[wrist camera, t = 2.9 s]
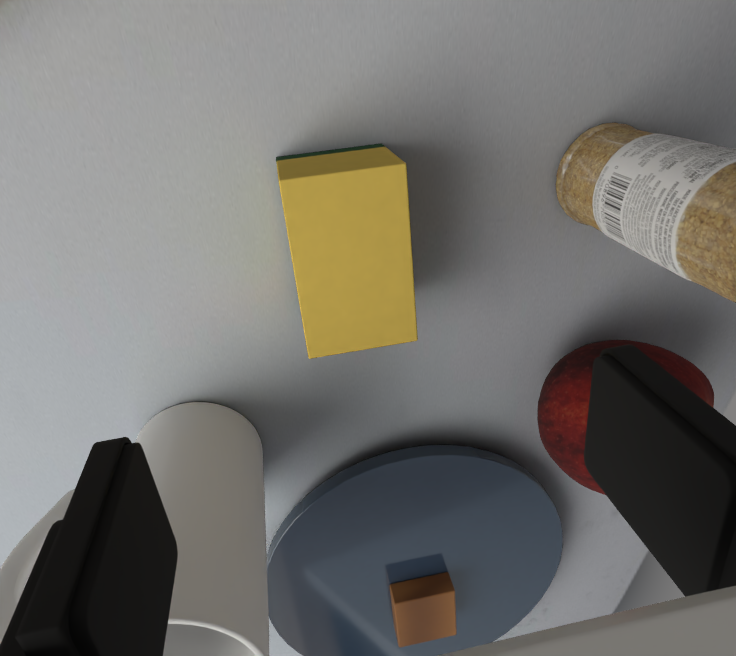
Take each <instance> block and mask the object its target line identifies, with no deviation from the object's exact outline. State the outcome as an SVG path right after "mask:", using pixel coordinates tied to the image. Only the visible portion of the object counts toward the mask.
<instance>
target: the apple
mask: <svg viewBox="0 0 736 656" xmlns="http://www.w3.org/2000/svg"><path fill="white" fill-rule="evenodd" d="M628 344H631V345H634V346H635V347H637V348H638V349H639V350H641V351H642V352H643V353H644V354H646V355H647V356H648V357H649V358H651V359H652V360H653V361H655V362H656V363H657V364H658V365H660V366H661V367H662V368H663V369H665V370H666V371H667V372H668V373H670V374H671V375H672V376H674V377H675V378H676V379H677V380H679V381H680V382H681V383H682V384H684V385H685V386H686V387H687V388H689V389H690V390H691V391H692V392H694V393H695V394H696V395H698V396H699V397H700V398H701V399H703V400H704V401H705V402H706V403H708V404H709V405H710V406H711V407H713V405H714V392H713V389H712V386H711V384H710V382H709V380H708V379H707V377H706V376H705V375H704V373H703V372H702V371H700V370H699V369H698V368H697V367H696V366H695V365H694V364H692V363H691V362H689V361H688V360H686V359H685V358H683V357H681V356H679V355H677V354H675V353H673V352H671V351H669V350H666V349H664V348H661V347H658V346H654V345H651V344H647V343H642V342H637V341H630V340H608V341H601V342H596V343H591V344H587V345H585V346H582V347H580V348H578V349H575V350H574V351H572V352H570V353H569V354H567V355H566V356H564V357H563V358H562V359H560V360H559V361H558V362H557V363H556V364H555V365H554V367H553V368H552V369H551V371H550V372H549V374H548V376H547V377H546V379H545V382H544V384H543V387H542V390H541V393H540V397H539V401H538V426H539V432H540V437H541V440H542V443H543V445H544V447H545V449H546V450H547V452H548V453H549V455H550V457H551V458H552V459H553V460H554V461H555V463H556V464H557V465H558V466H559V467H560V468H561V469H562V470H563V471H564V472H565V473H566V474H567V475H569V476H570V477H571V478H572V479H573V480H575V481H576V482H578V483H580V484H581V485H583V486H585V487H587V488H589V489H591V490H593V491H596V492H599V493H601V494H604V495H606V494H605V493H604V492H603V490H602V489H601V488H600V487H599V485H598V484H597V483H596V481H595V480H594V479H593V478H592V476H591V475H590V474H589V472H588V470H587V468H586V466H585V462H584V448H585V438H586V428H587V419H588V409H589V399H590V389H591V379H592V370H593V362H594V360H595V358H597V357H600V353H601V352H602V350H604V349H606V348H612V347H617V346H622V345H628Z"/></svg>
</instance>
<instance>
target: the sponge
mask: <svg viewBox="0 0 736 656" xmlns="http://www.w3.org/2000/svg"><path fill="white" fill-rule="evenodd" d="M276 163H277V171H278V179H279V186H280V192H281V198H282V203H283V209H284V215H285V221H286V227H287V233H288V239H289V245H290V251H291V257H292V263H293V269H294V275H295V280H296V286H297V292H298V298H299V304H300V310H301V316H302V322H303V328H304V334H305V340H306V346H307V351H308V357H309V359H311V358H317V357H323V356H329V355H335V354H341V353H347V352H353V351H359V350H365V349H371V348H377V347H383V346H389V345H395V344H400V343H406V342H412V341H417V339H418V338H417V322H416V307H415V291H414V275H413V260H412V244H411V229H410V213H409V197H408V182H407V166H406V163H405V162H404V161H402V160H401V159H400V158H399V157H397V156H396V155H395V154H394V153H392V152H391V151H390V150H389V149H388V148H386V147H385V146H384V145H383V144H374V145H366V146H358V147H351V148H343V149H335V150H328V151H320V152H312V153H305V154H297V155H289V156H281V157H276Z"/></svg>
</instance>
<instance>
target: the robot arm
mask: <svg viewBox="0 0 736 656" xmlns="http://www.w3.org/2000/svg"><path fill="white" fill-rule="evenodd" d="M584 462H585V466H586V468H587V470H588V472H589V474H590V475H591V476H592V478H593V479H594V480H595V481H596V483H597V484H598V485H599V487H600V488H601V489H602V490H603V492H604V493H605V494H606V495H607V497H608V498H609V499H610V501H611V502H612V503H613V504H614V506H615V507H616V508H617V510H618V511H619V512H620V513H621V515H622V516H623V517H624V519H625V520H626V521H627V522H628V524H629V525H630V526H631V528H632V529H633V530H634V531H635V533H636V534H637V535H638V536H639V538H640V539H641V540H642V542H643V543H644V544H645V545H646V547H647V548H648V549H649V551H650V552H651V553H652V554H653V556H654V557H655V558H656V560H657V561H658V562H659V563H660V565H661V566H662V567H663V569H664V570H665V571H666V572H667V574H668V575H669V576H670V577H671V579H672V580H673V581H674V583H675V584H676V585H677V586H678V588H679V589H680V590H681V592H682V593H683V594H684V595H685V597H683V598H679V599H674V600H670V601H665V602H661V603H657V604H652V605H648V606H644V607H640V608H636V609H631V610H627V611H623V612H618V613H614V614H610V615H605V616H601V617H597V618H593V619H588V620H584V621H580V622H576V623H571V624H567V625H563V626H559V627H555V628H550V629H546V630H542V631H538V632H534V633H530V634H525V635H521V636H517V637H513V638H509V639H505V640H500V641H496V642H492V643H488V644H484V645H480V646H476V647H471V648H467V649H463V650H459V651H455V652H451V653H447V654H442V655H438V656H736V426H735V425H734V424H733V423H732V422H730V421H729V420H728V419H727V418H725V417H724V416H723V415H722V414H720V413H719V412H718V411H717V410H715V409H714V408H713V407H711V406H710V405H709V404H708V403H706V402H705V401H704V400H703V399H701V398H700V397H699V396H698V395H696V394H695V393H694V392H692V391H691V390H690V389H689V388H687V387H686V386H685V385H684V384H682V383H681V382H680V381H679V380H677V379H676V378H675V377H674V376H672V375H671V374H670V373H668V372H667V371H666V370H665V369H663V368H662V367H661V366H660V365H658V364H657V363H656V362H655V361H653V360H652V359H651V358H649V357H648V356H647V355H646V354H644V353H643V352H642V351H641V350H639V349H638V348H637V347H635V346H634V345H631V344H628V345H622V346H617V347H612V348H606V349H604V350H602V352H601V353H600V357H597V358H595V360H594V362H593V370H592V379H591V389H590V399H589V409H588V419H587V428H586V438H585V448H584ZM177 559H178V550H177V543H176V539H175V536H174V534H173V531H172V528H171V525H170V522H169V520H168V517H167V514H166V511H165V509H164V506H163V503H162V500H161V498H160V495H159V492H158V489H157V487H156V484H155V481H154V478H153V475H152V473H151V470H150V467H149V464H148V462H147V459H146V456H145V453H144V451H143V448H142V446H141V444H140V443H138V442H137V443H131V441H130V440H129V438H127V437H123V438H117V439H112V440H106V441H101V442H96V443H95V444H94V445H93V447H92V449H91V451H90V454H89V456H88V459H87V461H86V464H85V466H84V469H83V471H82V473H81V476H80V478H79V481H78V483H77V486H76V488H75V491H74V493H73V496H72V498H71V500H70V503H69V505H68V508H67V510H66V513H65V515H64V518H63V519H62V520H58V521H56V522H55V523H54V524H53V525H52V526H51V528H50V530H49V532H48V534H47V536H46V539H45V541H44V543H43V546H42V548H41V550H40V553H39V555H38V557H37V560H36V562H35V564H34V567H33V569H32V571H31V574H30V576H29V578H28V581H27V583H26V585H25V588H24V590H23V592H22V595H21V597H20V599H19V602H18V604H17V606H16V609H15V611H14V614H13V616H12V618H11V621H10V623H9V625H8V628H7V630H6V632H5V635H4V637H3V639H2V642H1V644H0V656H163V652H164V645H165V639H166V632H167V625H168V619H169V612H170V606H171V599H172V593H173V586H174V579H175V573H176V566H177Z"/></svg>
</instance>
